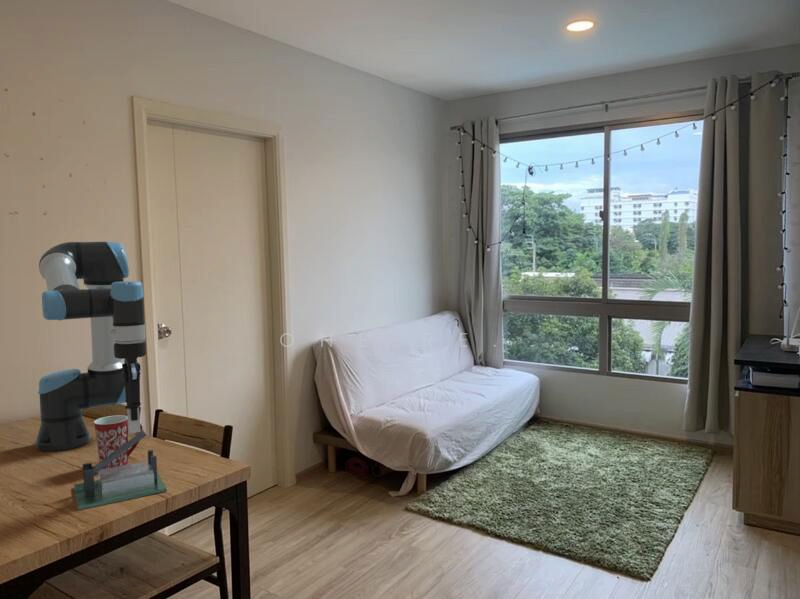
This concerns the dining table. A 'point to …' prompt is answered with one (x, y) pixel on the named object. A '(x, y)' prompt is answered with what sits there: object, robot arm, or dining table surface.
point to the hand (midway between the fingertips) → (134, 431)
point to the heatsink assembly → (119, 483)
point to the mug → (113, 438)
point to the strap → (119, 451)
